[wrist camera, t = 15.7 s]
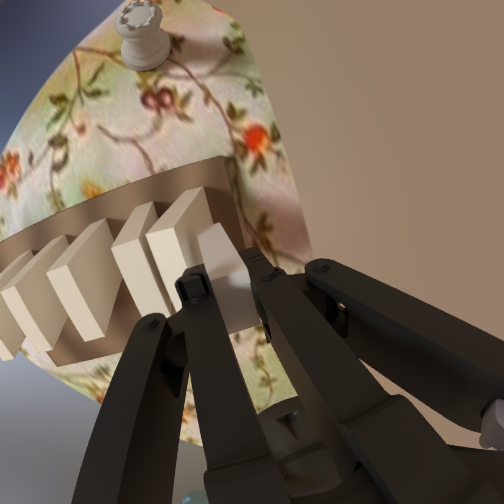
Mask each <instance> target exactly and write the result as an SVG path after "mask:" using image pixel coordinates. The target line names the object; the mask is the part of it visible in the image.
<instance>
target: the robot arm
mask: <svg viewBox="0 0 504 504" xmlns="http://www.w3.org/2000/svg"><path fill="white" fill-rule="evenodd" d="M195 231H196V235H197V239H198V242H199V246H200V250H201V254H202V257H203V261H204V263H203V264H200V265H196V266H193V267H190V268H187V269H185V271H184V272H183V274H182V276H181V277H179V278H178V279H177V280H176V281H175V284H174V286H175V288H176V291H177V293H178V296H179V298H180V301H181V304H182V308H181V309H180V310H179V311H178V312H177V313H175V314H173V315H172V316H170V317H168V318H166V317H165V315H164V314H162V313H151V314H147V315H146V316H143V317H142V318H141V319H140V320H138V322H137V323H136V324H135V326H134V328H133V330H132V333H131V335H130V337H129V339H128V342H127V344H126V346H125V349H124V351H123V353H122V356H121V358H120V360H119V363H118V365H117V367H116V370H115V372H114V375H113V377H112V380H111V382H110V385H109V387H108V390H107V393H106V395H105V398H104V400H103V403H102V406H101V408H100V411H99V414H98V417H97V420H96V422H95V425H94V428H93V432H92V434H91V438H90V440H89V443H88V446H87V450H86V453H85V456H84V459H83V462H82V466H81V469H80V472H79V476H78V480H77V484H76V487H75V491H74V495H73V499H72V503H71V504H172V495H173V485H174V476H175V468H176V460H177V452H178V444H179V437H180V430H181V423H182V416H183V410H184V403H185V397H186V391H187V384H188V378H189V372H190V377H191V383H192V389H193V396H194V401H195V407H196V413H197V418H198V423H199V429H200V434H201V439H202V443H203V448H204V453H205V456H206V461H207V470H206V471H205V473H204V485H205V489H202V490H194V491H191V492H189V493H187V494H186V496H185V497H184V499H183V504H504V341H502V340H500V339H498V338H497V337H495V336H493V335H491V334H489V333H487V332H485V331H483V330H481V329H479V328H477V327H475V326H472V325H471V324H468V323H467V322H465V321H463V320H461V319H458V318H457V317H454V316H452V315H450V314H448V313H446V312H444V311H442V310H440V309H438V308H436V307H434V306H432V305H430V304H428V303H425V302H423V301H421V300H419V299H417V298H415V297H413V296H411V295H408V294H406V293H404V292H402V291H400V290H398V289H396V288H393V287H391V286H389V285H387V284H385V283H383V282H380V281H378V280H376V279H374V278H372V277H369V276H367V275H365V274H363V273H361V272H358V271H356V270H354V269H352V268H350V267H347V266H345V265H342V264H340V263H338V262H336V261H334V260H330V259H323V258H320V259H315V260H313V261H311V262H309V263H308V264H306V266H305V268H304V269H305V273H301V274H293V275H287V274H286V272H285V271H284V270H283V269H281V268H278V267H273V265H272V264H271V263H270V262H269V261H268V259H267V258H266V257H265V256H264V255H263V253H262V252H261V251H260V250H259V249H256V248H253V247H252V248H249V249H245V250H242V251H239V252H237V251H236V249H235V247H234V246H233V244H232V242H231V241H230V239H229V237H228V236H227V234H226V232H225V231H224V229H223V227H222V226H221V224H220V222H219V223H216V224H213V225H209V226H206V227H203V228H199V229H196V230H195ZM340 303H341V304H343V305H344V306H345V308H344V307H342V306H340ZM259 316H260V317H259ZM260 318H261V320H262V323H263V327H264V331H265V335H266V339H267V343H271V345H272V347H273V349H274V351H275V352H276V354H277V356H278V358H279V360H280V362H281V364H282V366H283V368H284V370H285V372H286V374H287V375H288V377H289V379H290V381H291V383H292V385H293V387H294V389H295V391H296V392H297V394H298V396H299V397H295V398H291V399H288V400H285V401H282V402H280V403H277V404H275V405H273V406H271V407H269V408H268V409H266V410H264V411H263V412H261V413H260V414H259V415H257V413H256V410H255V408H254V405H253V402H252V400H251V397H250V394H249V391H248V389H247V386H246V383H245V381H244V378H243V375H242V372H241V369H240V367H239V364H238V361H237V358H236V355H235V352H234V349H233V346H232V343H231V341H230V338H229V334H232V333H235V332H238V331H241V330H244V329H247V328H250V327H253V326H256V325H259V324H261V321H260ZM359 359H361V360H362V361H364V362H365V363H366V364H368V365H369V366H371V367H372V368H373V369H375V370H376V371H378V372H379V373H381V374H382V375H383V376H385V377H386V378H388V379H389V380H390V381H392V382H393V383H395V384H396V385H398V386H399V387H401V388H402V389H404V390H405V391H406V392H408V393H409V394H411V395H412V396H414V397H415V398H417V399H418V400H420V401H421V402H423V403H424V404H426V405H427V406H429V407H430V408H432V409H433V410H435V411H436V412H438V413H439V414H441V415H442V416H444V417H445V418H447V419H448V420H450V421H452V422H453V423H455V424H457V425H459V426H461V427H463V428H466V429H468V430H471V431H474V432H479V433H481V436H480V438H479V443H480V446H481V447H483V448H486V449H487V448H490V447H493V448H495V449H497V451H495V450H484V449H475V448H468V447H461V446H454V445H448V444H446V443H445V441H444V440H443V439H442V438H441V437H440V436H439V434H438V433H437V432H436V431H435V430H434V428H433V427H432V426H431V425H430V424H429V423H428V421H427V420H426V419H425V418H424V417H423V415H422V414H421V413H420V412H419V411H418V410H417V408H416V407H415V406H414V405H413V404H412V403H411V402H410V401H409V400H408V399H407V398H406V397H405V396H403V395H400V394H397V395H390V394H388V393H387V392H386V391H385V390H384V389H383V387H382V386H381V385H380V384H379V383H378V381H377V380H376V379H375V378H374V376H373V375H372V374H371V373H370V372H369V370H368V369H367V368H366V367H365V366H364V365H363V363H362V362H361V361H360V360H359Z"/></svg>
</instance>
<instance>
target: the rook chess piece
mask: <svg viewBox="0 0 504 504" xmlns="http://www.w3.org/2000/svg"><path fill="white" fill-rule="evenodd" d="M131 4H132V5H130V6H128V7H125V6H124V7H123V8H122V9H121V11H120V14H119V15H118V16H117V18H116V21H115V29H116V31H117V32H118V34H119V35H120V36H122V37H123V38H124V40H123V44H122V47H121V54H122V58H123V61H124V63H125V64H126V65H127V66H128V67H129V68H132V69H134V70H140V71H146V70H149V69H153V68H156V67H157V66H158V65H160V64H161V63H163V62H164V61H165V59H166V58H167V57H168V55H169V53H170V49H171V43H170V39H169V35H168V34H167V33H166V32H165V31H164V30H163V29H162V28H159V26H160V23H161V20H162V17H163V16H162V11H161V9H160V8H159V7H158V6H157V5H156V4H153V3H152V2H151V1H148V0H145V1H144V2H139V0H136V1H132V2H131Z"/></svg>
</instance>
